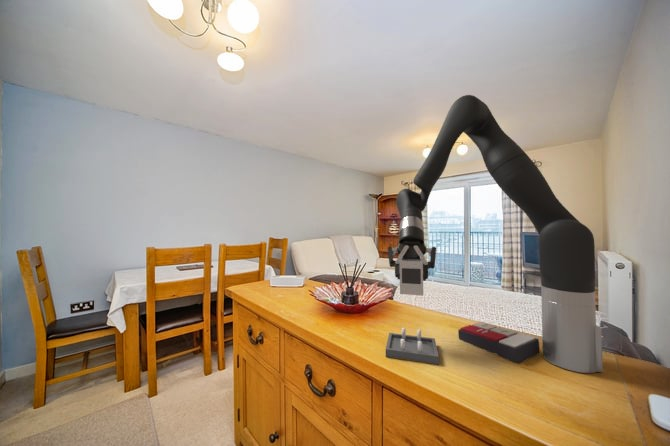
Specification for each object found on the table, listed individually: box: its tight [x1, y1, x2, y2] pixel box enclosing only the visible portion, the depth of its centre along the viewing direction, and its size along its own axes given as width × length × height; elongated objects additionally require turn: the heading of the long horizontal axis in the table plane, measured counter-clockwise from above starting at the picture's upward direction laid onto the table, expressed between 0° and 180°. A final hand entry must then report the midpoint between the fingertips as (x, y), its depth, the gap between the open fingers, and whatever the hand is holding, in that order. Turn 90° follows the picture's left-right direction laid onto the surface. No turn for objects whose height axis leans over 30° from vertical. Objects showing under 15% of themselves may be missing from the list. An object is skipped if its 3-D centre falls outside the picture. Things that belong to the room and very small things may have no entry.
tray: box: [385, 327, 440, 365], centre depth 63 cm, size 12×10×4 cm
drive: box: [399, 259, 424, 297], centre depth 68 cm, size 6×4×9 cm
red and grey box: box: [457, 321, 541, 365], centre depth 66 cm, size 11×4×15 cm
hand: (411, 278), depth 66 cm, fingers closed on drive, 6 cm apart
